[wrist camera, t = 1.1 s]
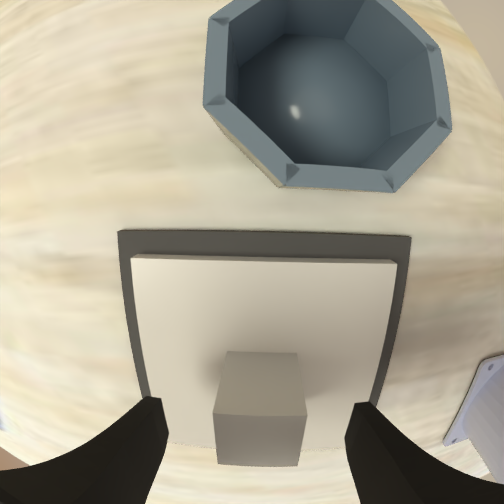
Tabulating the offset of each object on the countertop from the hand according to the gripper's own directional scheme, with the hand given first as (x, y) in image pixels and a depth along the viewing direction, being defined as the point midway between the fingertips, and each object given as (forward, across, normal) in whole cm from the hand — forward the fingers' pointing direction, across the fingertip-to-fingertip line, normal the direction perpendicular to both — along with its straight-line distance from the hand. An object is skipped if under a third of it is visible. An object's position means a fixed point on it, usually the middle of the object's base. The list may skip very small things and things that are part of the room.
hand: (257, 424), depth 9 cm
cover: (+4, 0, 0) cm, 4 cm away
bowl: (+4, -2, -12) cm, 13 cm away
